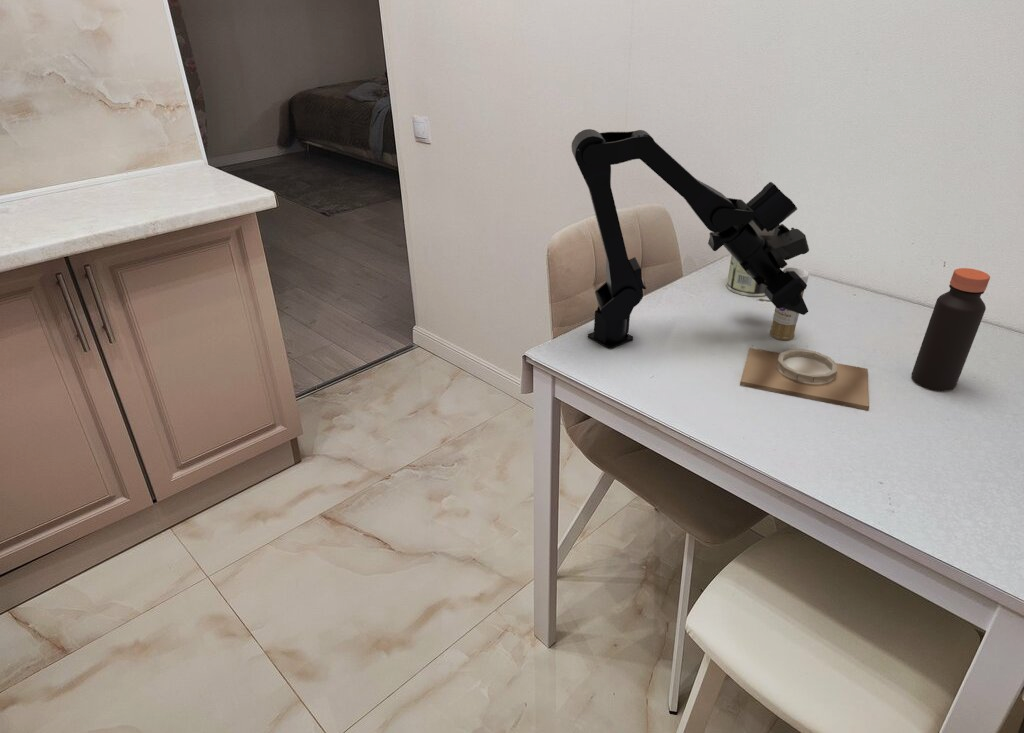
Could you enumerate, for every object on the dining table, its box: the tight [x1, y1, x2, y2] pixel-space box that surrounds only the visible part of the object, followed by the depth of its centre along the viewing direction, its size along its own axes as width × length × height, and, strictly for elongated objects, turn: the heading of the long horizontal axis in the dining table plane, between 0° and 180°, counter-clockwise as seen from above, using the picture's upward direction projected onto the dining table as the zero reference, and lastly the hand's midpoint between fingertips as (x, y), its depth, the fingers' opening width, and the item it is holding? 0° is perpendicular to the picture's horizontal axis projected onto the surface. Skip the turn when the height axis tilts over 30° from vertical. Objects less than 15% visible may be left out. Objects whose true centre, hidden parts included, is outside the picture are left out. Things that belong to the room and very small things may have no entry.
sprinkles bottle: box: [769, 267, 809, 341], centre depth 126 cm, size 5×5×14 cm
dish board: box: [739, 347, 870, 411], centre depth 115 cm, size 20×13×2 cm, turn 66°
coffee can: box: [726, 221, 775, 298], centre depth 146 cm, size 10×10×14 cm
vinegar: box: [911, 267, 991, 392], centre depth 110 cm, size 7×7×20 cm
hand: (796, 302), depth 126 cm, fingers open, 9 cm apart
